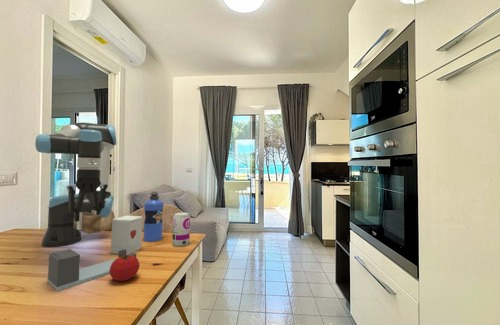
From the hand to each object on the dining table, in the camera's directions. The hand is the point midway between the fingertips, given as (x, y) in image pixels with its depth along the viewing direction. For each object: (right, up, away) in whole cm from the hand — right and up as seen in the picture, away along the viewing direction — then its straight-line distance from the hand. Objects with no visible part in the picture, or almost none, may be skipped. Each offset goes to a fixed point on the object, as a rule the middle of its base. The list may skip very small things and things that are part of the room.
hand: (86, 228), depth 89 cm
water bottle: (+13, -15, +30) cm, 36 cm away
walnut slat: (0, -1, 0) cm, 1 cm away
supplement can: (+30, -15, +23) cm, 41 cm away
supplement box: (+9, -14, +12) cm, 21 cm away
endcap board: (+10, -13, -9) cm, 19 cm away
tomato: (+23, -13, -13) cm, 29 cm away
